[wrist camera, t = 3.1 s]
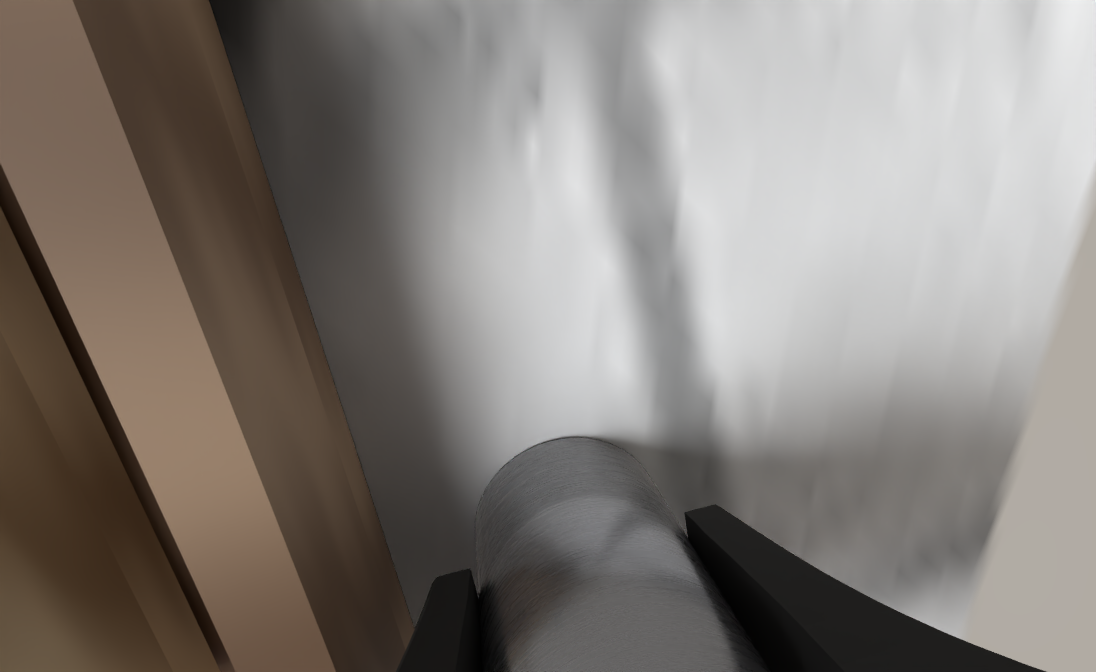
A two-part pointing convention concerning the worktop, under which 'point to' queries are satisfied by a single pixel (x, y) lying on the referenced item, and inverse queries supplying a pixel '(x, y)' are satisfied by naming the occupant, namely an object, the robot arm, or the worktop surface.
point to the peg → (595, 572)
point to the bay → (193, 328)
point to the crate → (73, 516)
